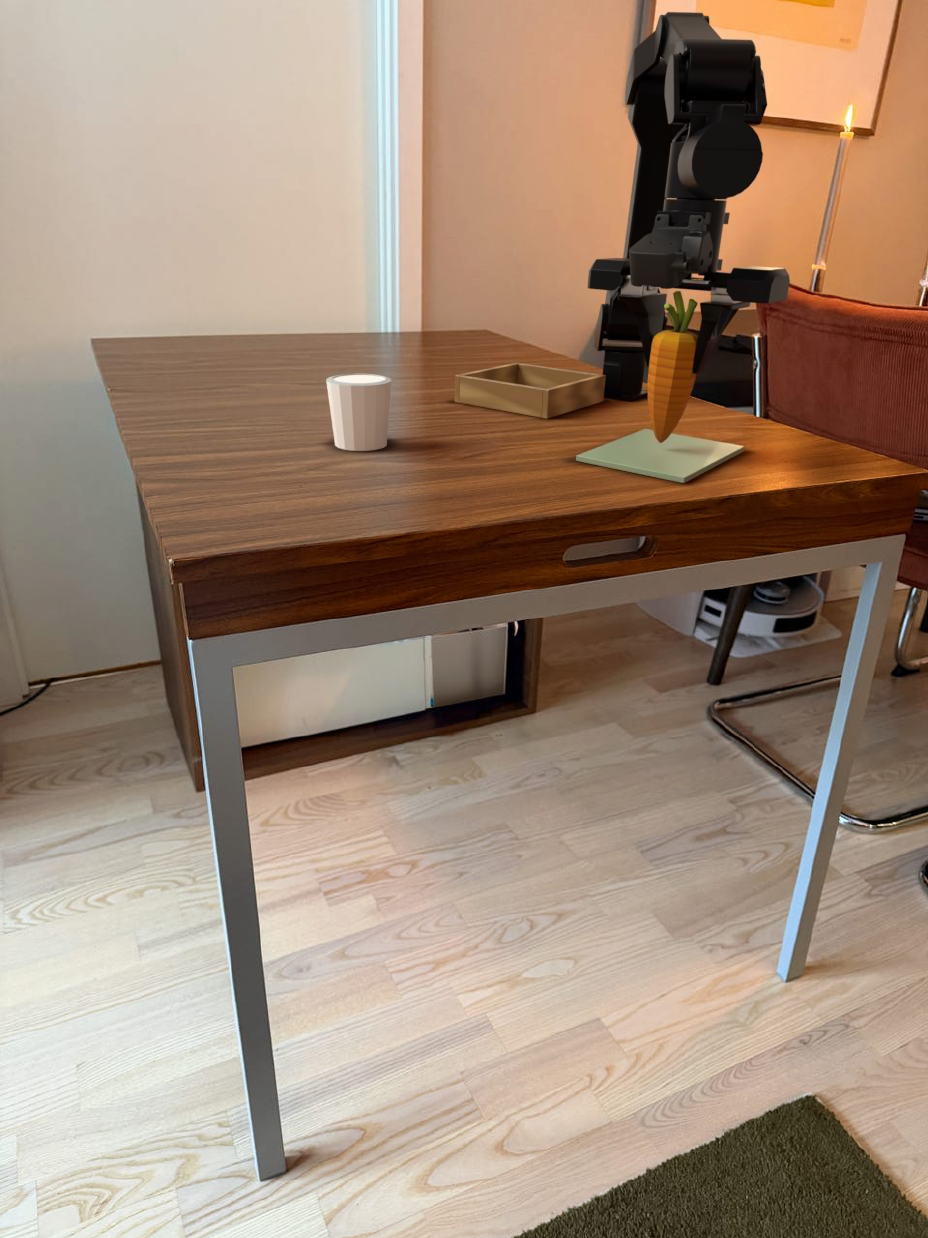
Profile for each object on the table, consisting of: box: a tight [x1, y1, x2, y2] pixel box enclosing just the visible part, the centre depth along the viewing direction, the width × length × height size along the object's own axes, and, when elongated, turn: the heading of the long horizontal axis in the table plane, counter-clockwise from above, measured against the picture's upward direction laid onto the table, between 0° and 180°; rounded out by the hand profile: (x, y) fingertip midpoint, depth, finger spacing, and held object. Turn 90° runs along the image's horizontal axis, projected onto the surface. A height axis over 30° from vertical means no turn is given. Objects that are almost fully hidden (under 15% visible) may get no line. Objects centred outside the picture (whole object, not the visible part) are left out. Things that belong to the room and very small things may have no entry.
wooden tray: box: [454, 362, 606, 419], centre depth 112 cm, size 15×15×4 cm
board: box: [575, 428, 745, 484], centre depth 89 cm, size 16×12×1 cm
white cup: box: [325, 373, 392, 452], centre depth 89 cm, size 7×7×7 cm
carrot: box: [647, 290, 699, 443], centre depth 85 cm, size 5×5×15 cm
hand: (673, 370), depth 85 cm, fingers closed on carrot, 5 cm apart
